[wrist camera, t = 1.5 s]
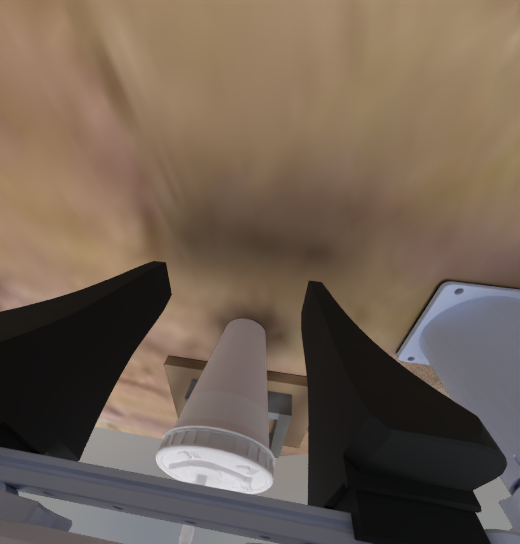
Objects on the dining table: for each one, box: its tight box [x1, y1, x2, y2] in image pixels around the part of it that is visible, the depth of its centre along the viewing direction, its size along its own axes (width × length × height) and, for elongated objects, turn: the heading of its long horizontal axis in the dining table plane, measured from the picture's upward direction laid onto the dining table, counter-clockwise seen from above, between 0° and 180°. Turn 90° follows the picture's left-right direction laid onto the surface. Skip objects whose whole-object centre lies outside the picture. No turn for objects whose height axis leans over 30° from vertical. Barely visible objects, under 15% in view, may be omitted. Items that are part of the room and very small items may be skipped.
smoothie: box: [156, 318, 275, 544], centre depth 14 cm, size 6×6×14 cm
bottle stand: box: [164, 356, 308, 458], centre depth 25 cm, size 16×14×3 cm
